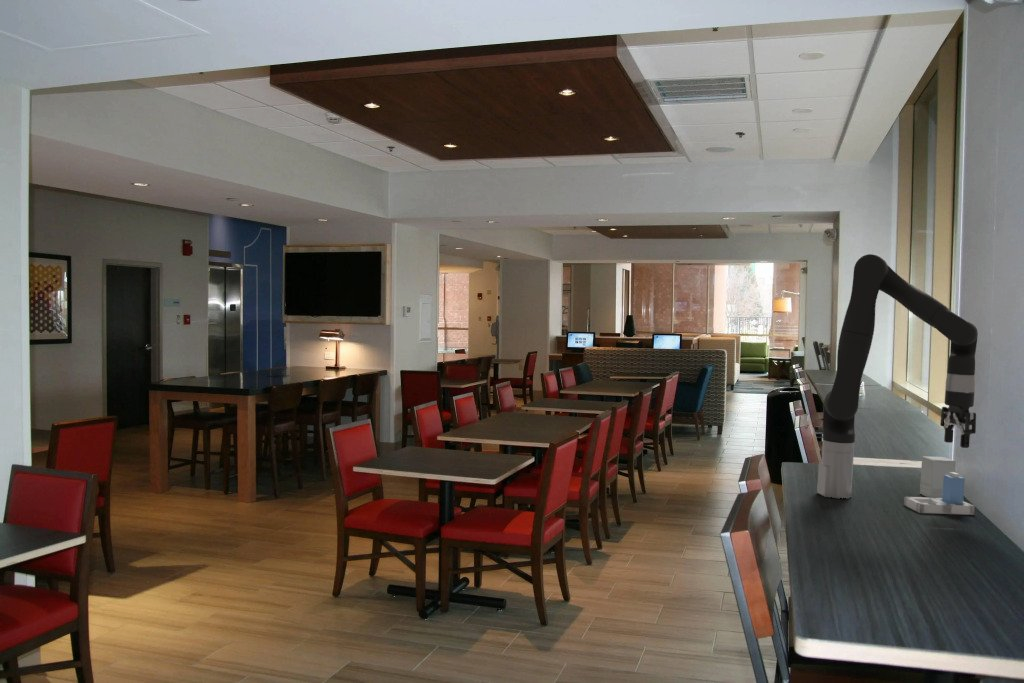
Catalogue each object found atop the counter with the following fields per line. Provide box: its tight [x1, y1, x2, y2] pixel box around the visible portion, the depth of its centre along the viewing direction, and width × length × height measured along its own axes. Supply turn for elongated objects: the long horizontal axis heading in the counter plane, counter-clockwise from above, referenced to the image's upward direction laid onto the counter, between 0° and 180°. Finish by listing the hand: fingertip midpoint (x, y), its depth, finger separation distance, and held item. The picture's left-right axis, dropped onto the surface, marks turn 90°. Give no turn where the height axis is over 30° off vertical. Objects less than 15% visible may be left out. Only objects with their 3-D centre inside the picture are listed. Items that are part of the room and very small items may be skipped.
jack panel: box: [903, 496, 975, 516], centre depth 247 cm, size 16×9×3 cm, turn 91°
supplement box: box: [919, 455, 957, 498], centre depth 265 cm, size 7×7×13 cm
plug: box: [942, 471, 966, 504], centre depth 246 cm, size 4×4×11 cm
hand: (956, 444), depth 246 cm, fingers open, 8 cm apart
